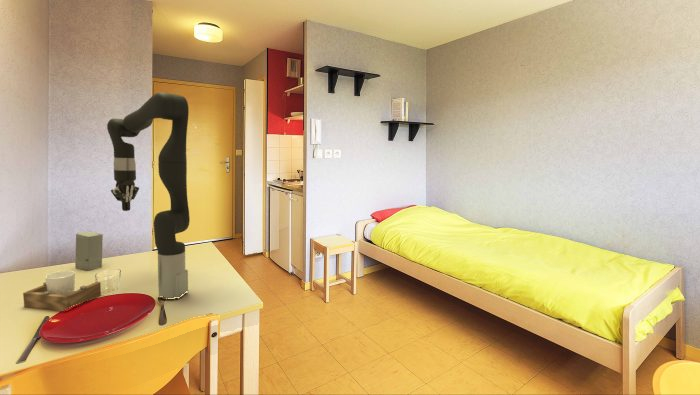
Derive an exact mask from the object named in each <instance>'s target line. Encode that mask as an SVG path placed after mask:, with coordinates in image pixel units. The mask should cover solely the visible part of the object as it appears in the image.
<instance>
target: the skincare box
mask: <svg viewBox="0 0 700 395" xmlns="http://www.w3.org/2000/svg"><path fill="white" fill-rule="evenodd" d="M103 236H104V234H102V233H99V232H96V231H95V232H94V231H86V232H85V231H84V232H79V233H76V234H75V260H74V261H75V262H74V263H75V266H74V267H75V269H80V270H83V271H92V270H96V269H99V268H102V267H103Z"/></svg>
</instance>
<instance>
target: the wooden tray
mask: <svg viewBox="0 0 700 395" xmlns="http://www.w3.org/2000/svg"><path fill="white" fill-rule="evenodd" d="M101 286H102V285H101V281H95V282H93V283H91V284H88V285H81V286H79V289H77V290H75V292H72V293H70V294H68V295H59V294H50V291H47V286H46V281H45V282H43V284H42V285H40V286H37V287H35V288H32V289H30V290H26V291H24V292H23V293H22V295H23V307H24V308H31V309H41V310H49V311H58V312H63V311H62V310H65V309H67V308H69V307H71V306H73V305H76V304H79V303H82V302H85V301H87V300H89V301H91V300H93V299H96V298H97V297H99V296H101V295H102V291H101V290H102V288H101ZM100 294H101V295H100ZM90 299H91V300H90ZM87 302H88V301H87ZM85 303H86V302H85Z"/></svg>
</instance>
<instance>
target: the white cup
mask: <svg viewBox="0 0 700 395" xmlns="http://www.w3.org/2000/svg"><path fill="white" fill-rule="evenodd" d="M75 274H76V273H75V271H73V270H58V271H54V272H51V273H48V274H46V275H45V282H46V286H47V291H50V294H59V295H68V294H70V293H72V292H75V291H76V290H75V288H76V286H75V284H76V280H75V278H76V277H75V276H76V275H75Z"/></svg>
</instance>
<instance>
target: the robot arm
mask: <svg viewBox="0 0 700 395" xmlns="http://www.w3.org/2000/svg"><path fill="white" fill-rule="evenodd" d="M188 103H189V102H188V100H187V98H186V97H185V96H183V95H179V94H175V93H169V92H164V91H163V92H162V91H161V92H160V91H159V92H156V93H155V94H153V95H151V97H149V98H148V99H147V101H145V103H143V104H142V106H141V107H139V108H137V109H136V110H135V111H133V112H131V113H129V114H127V115H126V116H124V117H123V119H122V118H111V119H110V120H108V122H107V124H106V125H107V126H106V128H107V133H108V136H109V137H110V140H111V144H112V147H113V179H114V181H115V182H116V183H115V188H114V189H111V190H110V192H111V194H112V195H113V196H114V198H115V200H116V201H118V202H121V208H122V211H123V212H124V211H125V212H128V211H131V202H132V200H135V198H136V196H137V194H138V192H139V190H140V187H139V186H136V184H135V181H137V171H136V168H137V167H136V164H137V163H136V159H135V146H134V144H132V143H128V142H125V141H124V140H123V138H135V137H138V135H140V133H141V131H144V130H145V129H147V128H149V127H150V126H152V124H153V121H154V119H161V120H168V121H171V125H172V126H171V130H170V132H171V133H170V135H169V138H168V139H167V141H166V142H165V144H164V145H163V147H162V148H161V150H160V151H159V154H158V162H157V166H158V177H159V178H160V180H161V182H162V184H163V186H164V187H165V189H166V190H167V193H168V194H169V199H170V200H169V201H170V209H168V210H163V211H160V212H158V213H157V214H155V215H154V219H153V234H154V243H155V244H154V245H155V247H156V249H157V274H158V275H157V277H158V278H157V279H158V280H157V282H158V283H157V284H158V286H157V288H158V297H159V296H165V297H166V298H167V299H168V298H174V297H180V296H181V295H182V294H184V293H185V292H186V291H188V292H189V270H188V269H186V245H185V243H184V242H181V241H177V238H176V234H181V233H183V232H185V231H187V229H188V228H189V225H190V209H189V208H190V207H189V201H188V185H187V184H188V182H187V181H188V180H187V176H188V175H187V174H188V173H187V172H188V171H187V170H188V169H187V168H188V167H187V164H188V163H187V160H188V158H187V135H188V124H189V115H190V114H189V111H190V110H189V104H188Z"/></svg>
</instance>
